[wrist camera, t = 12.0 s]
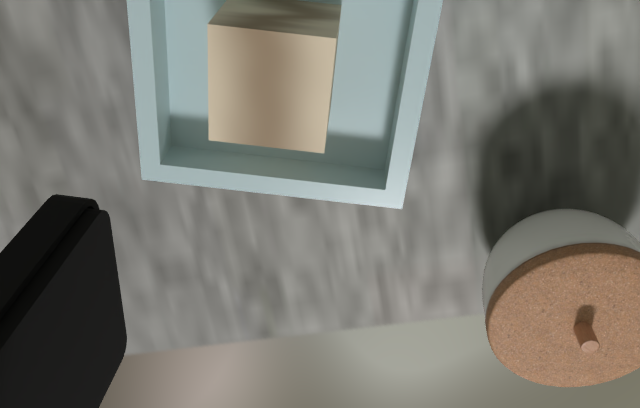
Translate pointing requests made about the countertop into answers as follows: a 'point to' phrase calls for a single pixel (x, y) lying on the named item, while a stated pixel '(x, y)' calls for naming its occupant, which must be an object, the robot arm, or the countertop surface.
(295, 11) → the birch block
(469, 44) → the countertop surface
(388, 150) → the teal tray
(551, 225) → the lidded jar
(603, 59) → the countertop surface
